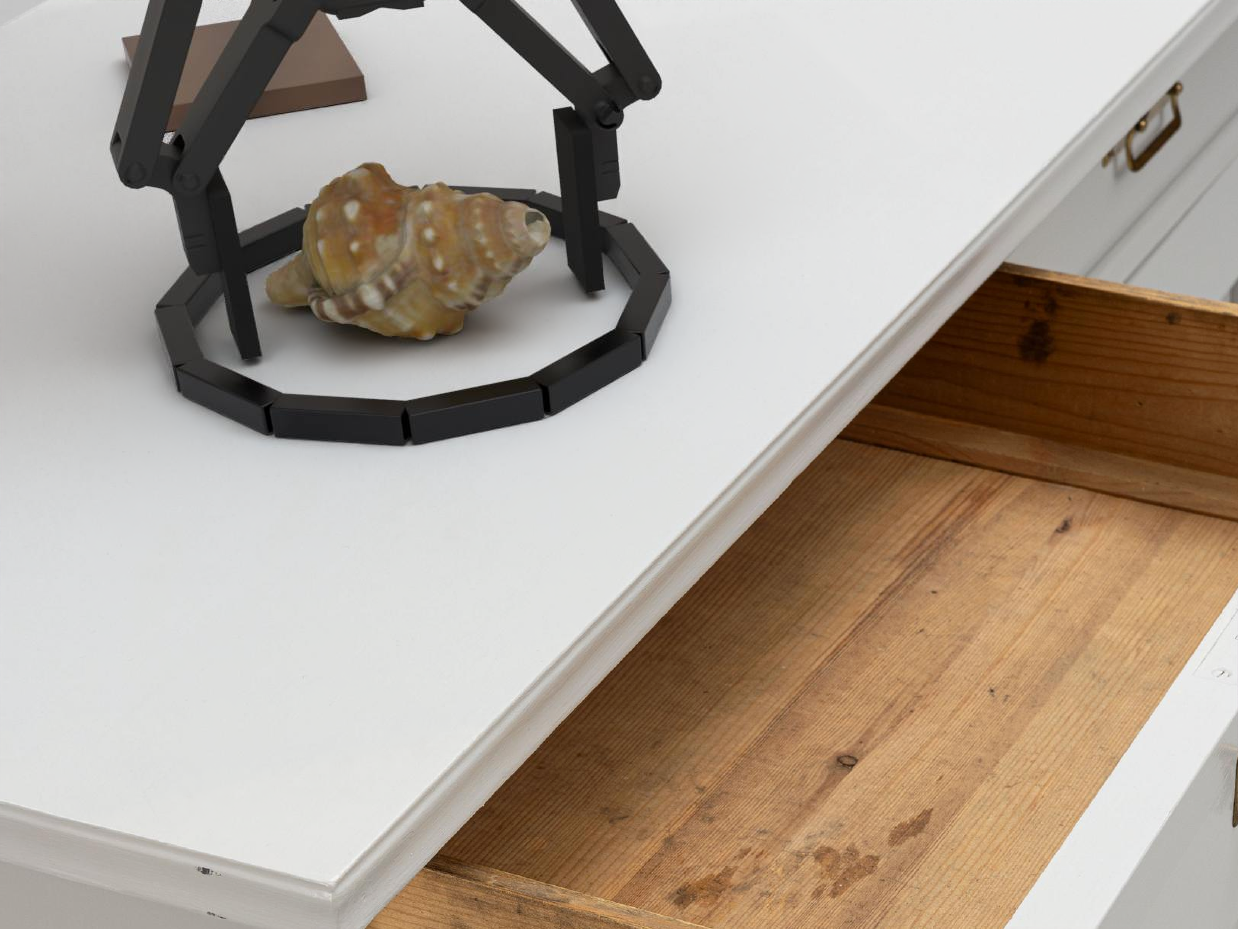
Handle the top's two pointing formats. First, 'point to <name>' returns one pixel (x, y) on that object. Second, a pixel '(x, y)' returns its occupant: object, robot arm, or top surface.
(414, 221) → the seashell
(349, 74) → the walnut board
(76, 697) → the top surface
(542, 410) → the burner ring
